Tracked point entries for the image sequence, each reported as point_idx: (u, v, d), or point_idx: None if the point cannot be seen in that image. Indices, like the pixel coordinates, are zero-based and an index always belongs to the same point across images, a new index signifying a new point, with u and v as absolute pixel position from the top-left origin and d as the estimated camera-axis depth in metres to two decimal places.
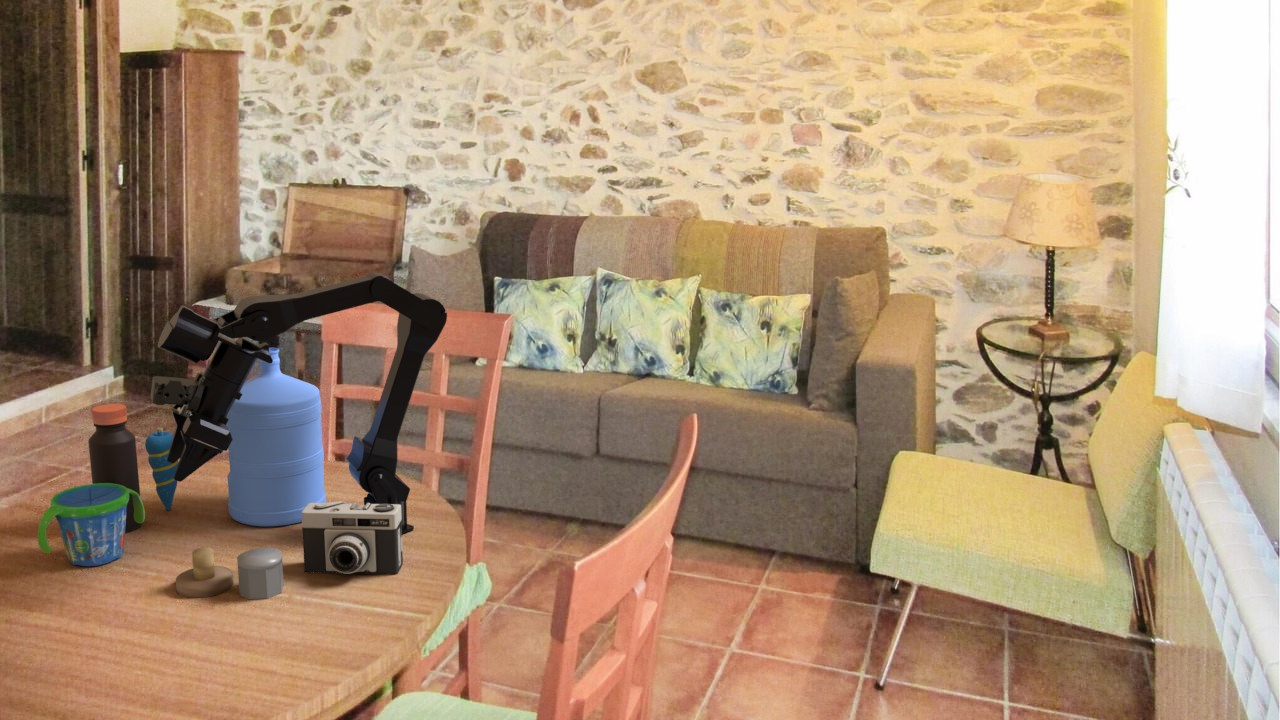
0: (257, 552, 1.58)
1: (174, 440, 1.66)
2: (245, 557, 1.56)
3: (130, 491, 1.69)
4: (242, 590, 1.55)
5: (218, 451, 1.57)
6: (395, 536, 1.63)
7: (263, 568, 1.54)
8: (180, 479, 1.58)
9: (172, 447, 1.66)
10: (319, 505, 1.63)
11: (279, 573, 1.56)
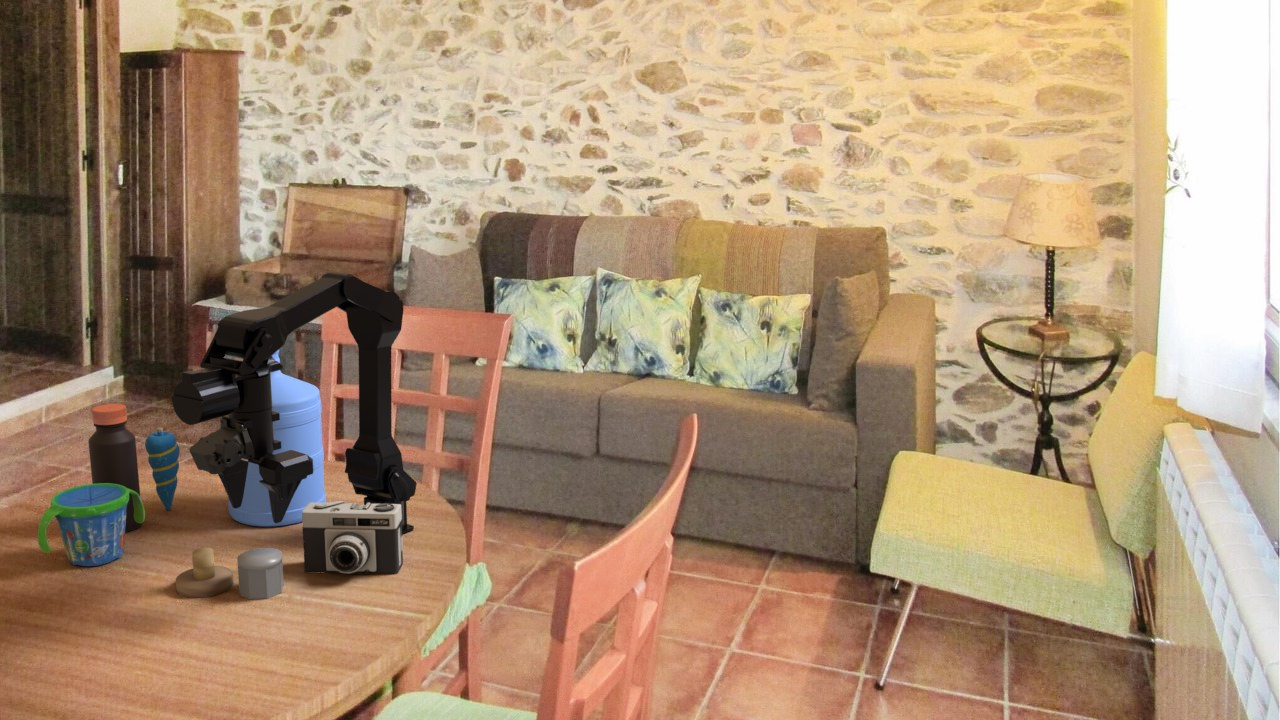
0: (257, 552, 1.58)
1: (229, 487, 1.56)
2: (245, 557, 1.56)
3: (130, 491, 1.69)
4: (242, 590, 1.55)
5: (305, 476, 1.51)
6: (395, 536, 1.63)
7: (263, 568, 1.54)
8: (280, 519, 1.53)
9: (231, 494, 1.57)
10: (319, 505, 1.63)
11: (279, 573, 1.56)
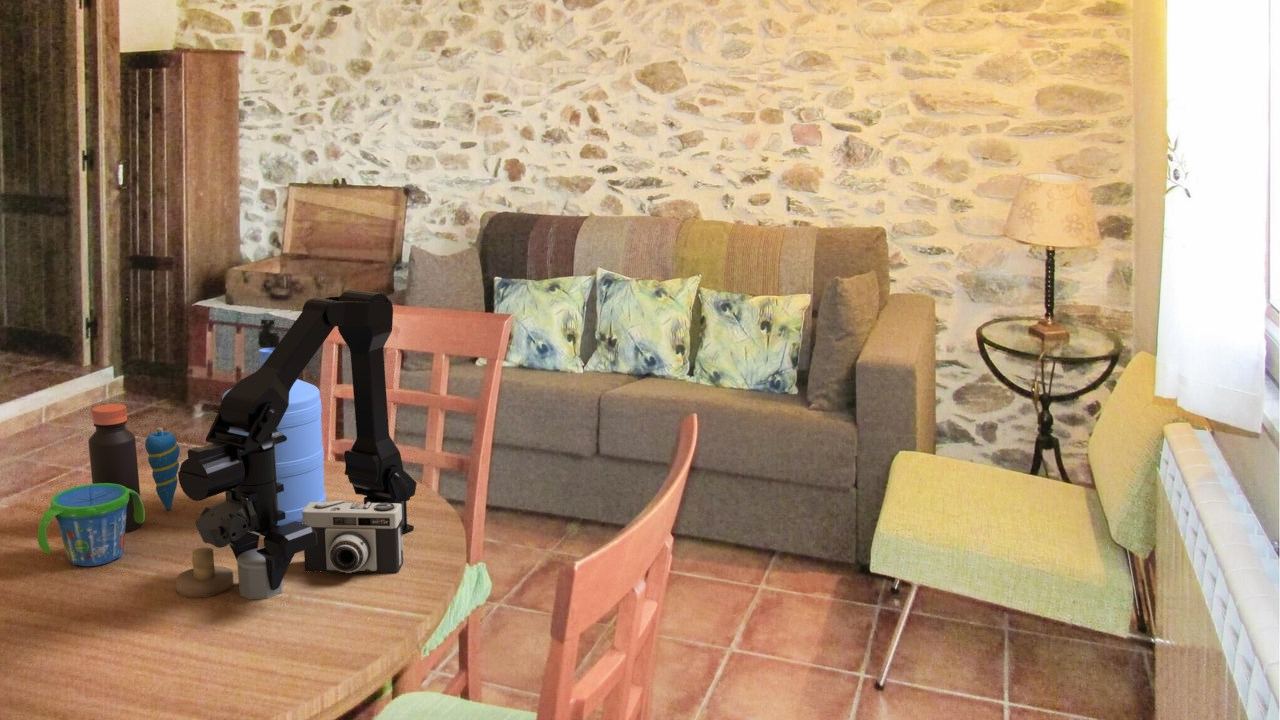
0: (257, 552, 1.58)
1: None
2: (245, 557, 1.56)
3: (130, 491, 1.69)
4: (242, 590, 1.55)
5: None
6: (395, 535, 1.63)
7: (263, 568, 1.54)
8: (277, 586, 1.56)
9: None
10: (320, 504, 1.64)
11: None
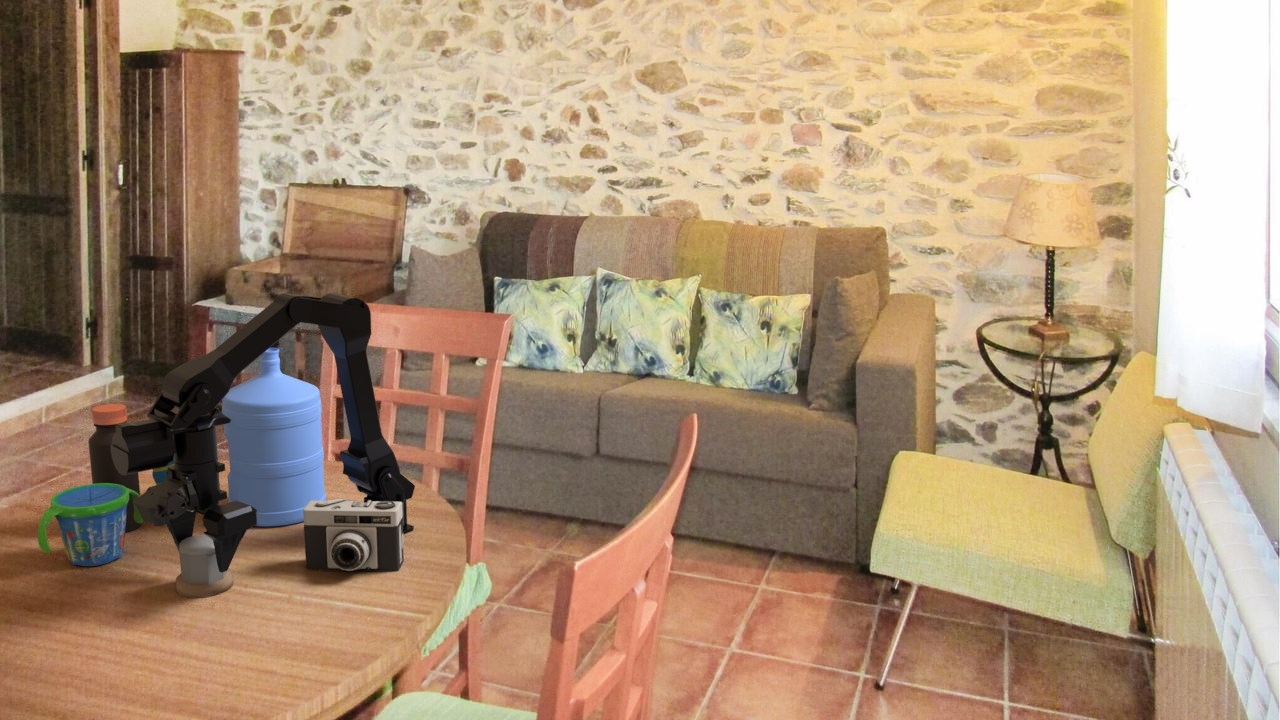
0: (200, 538, 1.58)
1: (176, 536, 1.59)
2: (187, 542, 1.57)
3: (130, 491, 1.69)
4: (184, 576, 1.56)
5: (250, 526, 1.54)
6: (396, 533, 1.64)
7: (204, 554, 1.55)
8: (226, 568, 1.55)
9: (178, 543, 1.59)
10: (320, 503, 1.64)
11: None
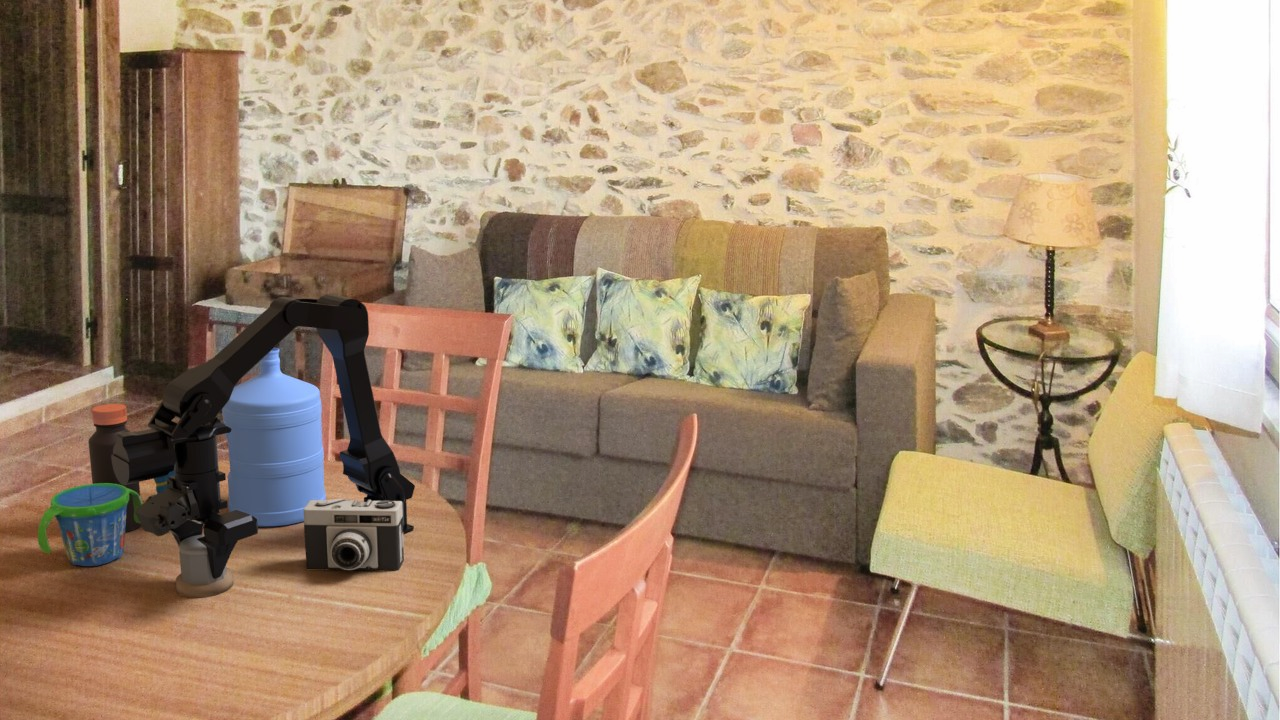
0: None
1: None
2: (187, 542, 1.57)
3: (130, 491, 1.69)
4: (184, 576, 1.56)
5: None
6: (397, 532, 1.64)
7: (204, 554, 1.55)
8: (219, 575, 1.57)
9: None
10: (321, 502, 1.65)
11: None
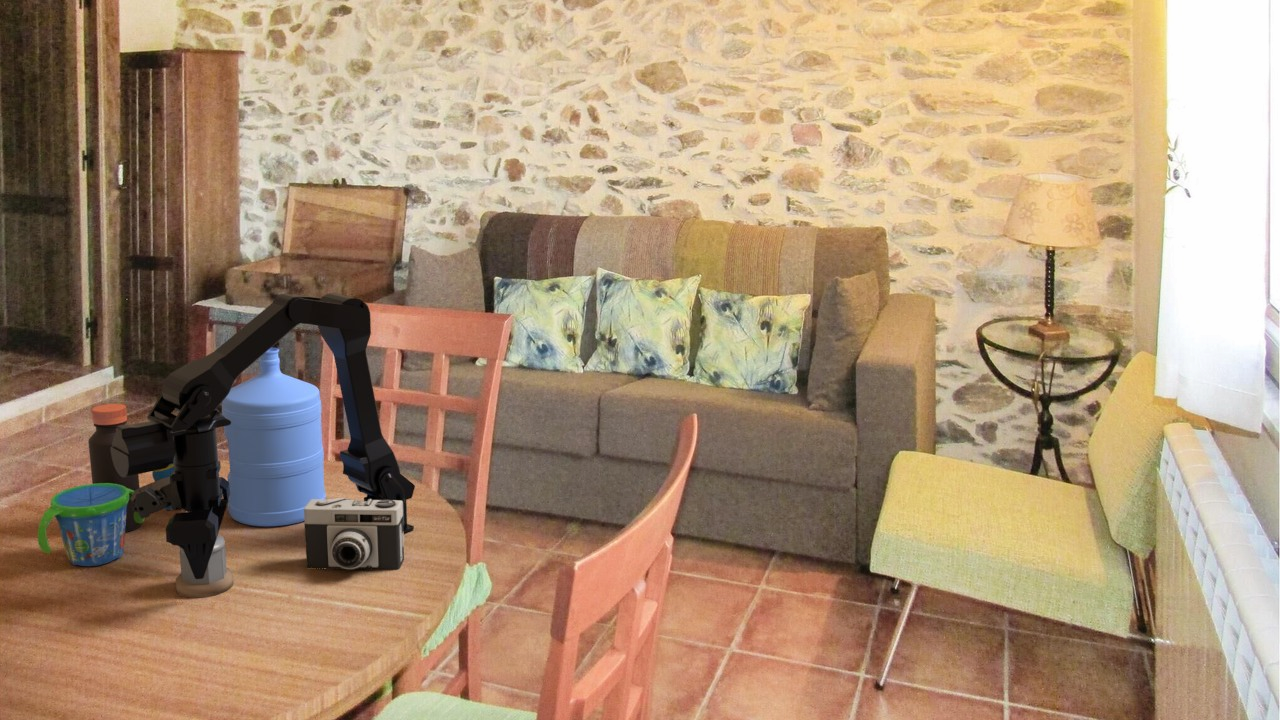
0: None
1: None
2: None
3: (130, 491, 1.69)
4: None
5: (211, 540, 1.49)
6: (397, 532, 1.64)
7: None
8: (201, 576, 1.53)
9: None
10: (321, 501, 1.65)
11: None
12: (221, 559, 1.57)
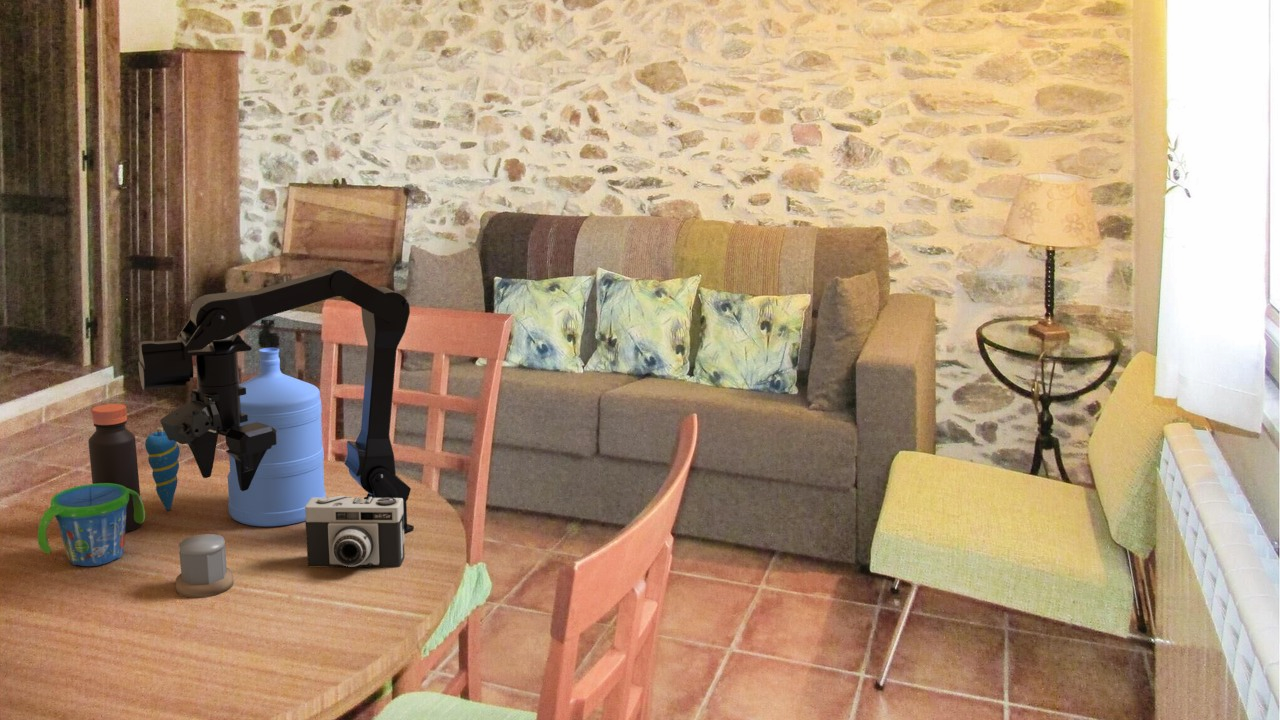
0: (213, 540, 1.58)
1: (199, 458, 1.67)
2: (204, 537, 1.59)
3: (130, 491, 1.69)
4: None
5: (270, 446, 1.61)
6: (398, 529, 1.65)
7: None
8: (247, 487, 1.63)
9: (201, 465, 1.67)
10: (322, 499, 1.66)
11: (190, 565, 1.55)
12: (206, 564, 1.55)
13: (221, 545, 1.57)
